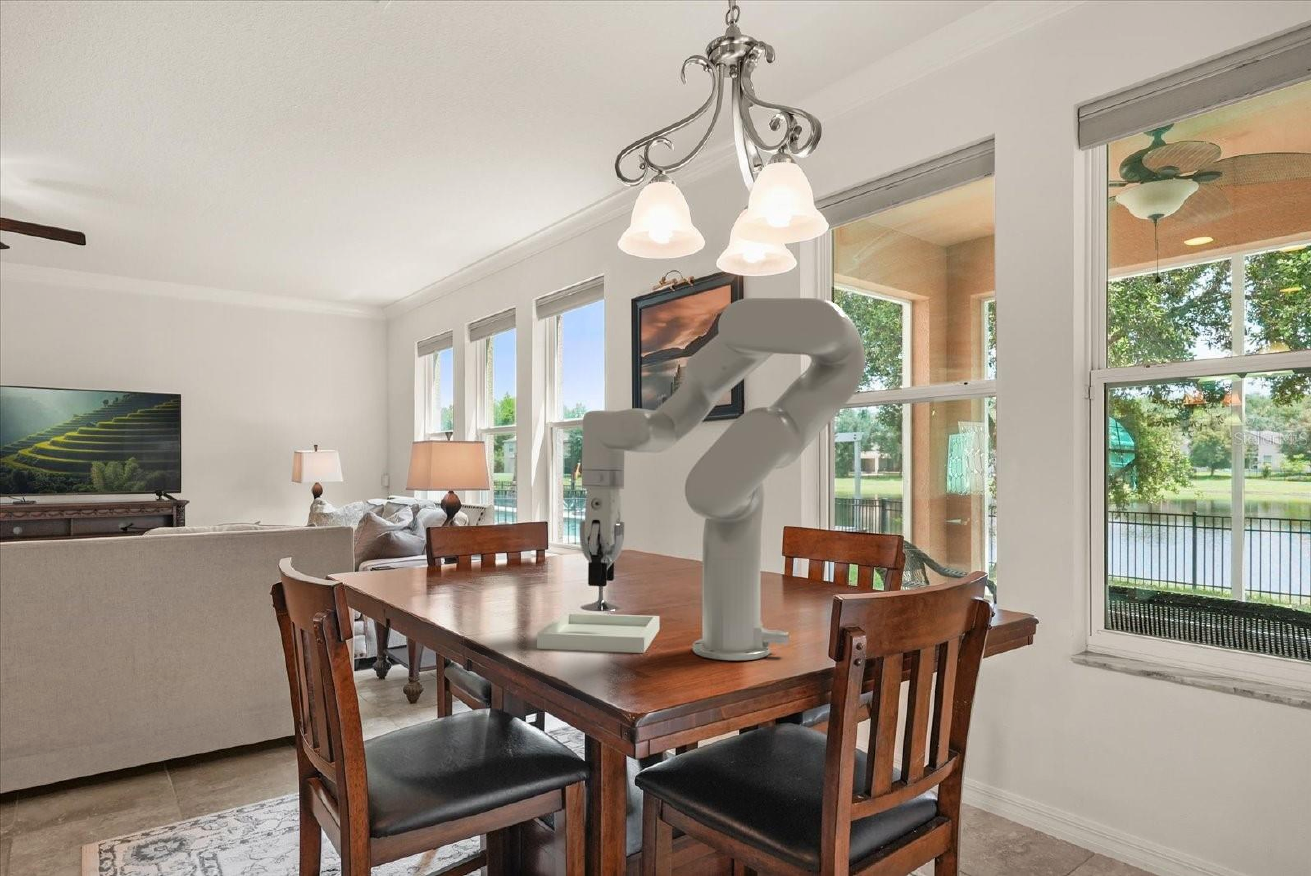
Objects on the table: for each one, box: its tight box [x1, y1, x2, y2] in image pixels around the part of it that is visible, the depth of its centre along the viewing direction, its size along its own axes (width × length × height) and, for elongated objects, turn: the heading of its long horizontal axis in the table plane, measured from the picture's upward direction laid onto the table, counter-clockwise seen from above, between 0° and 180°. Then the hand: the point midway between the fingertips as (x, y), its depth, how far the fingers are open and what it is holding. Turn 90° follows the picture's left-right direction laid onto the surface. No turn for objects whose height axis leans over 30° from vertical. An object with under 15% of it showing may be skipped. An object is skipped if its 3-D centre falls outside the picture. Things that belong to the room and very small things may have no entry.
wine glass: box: [579, 520, 625, 612], centre depth 135 cm, size 8×8×15 cm
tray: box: [536, 612, 660, 654], centre depth 134 cm, size 18×18×2 cm
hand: (601, 582), depth 135 cm, fingers closed on wine glass, 5 cm apart
